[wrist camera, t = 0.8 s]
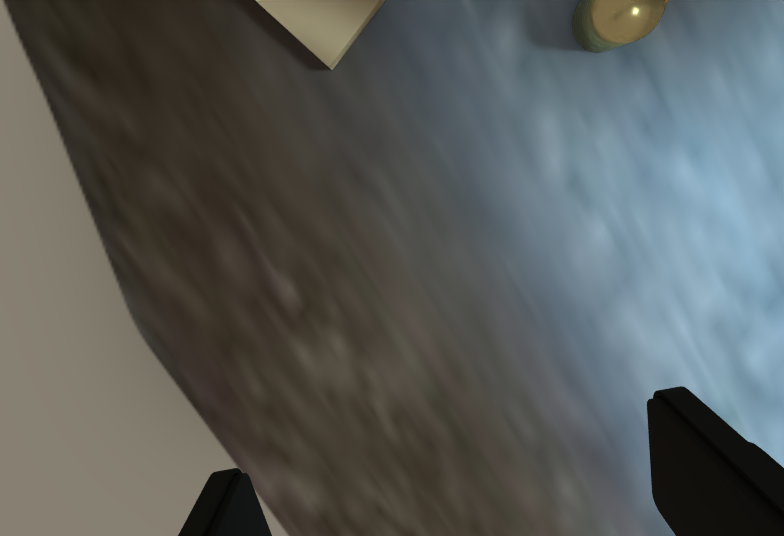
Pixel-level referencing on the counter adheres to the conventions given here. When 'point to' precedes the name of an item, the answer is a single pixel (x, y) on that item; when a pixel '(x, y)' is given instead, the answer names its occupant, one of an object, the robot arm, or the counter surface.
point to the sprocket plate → (324, 23)
